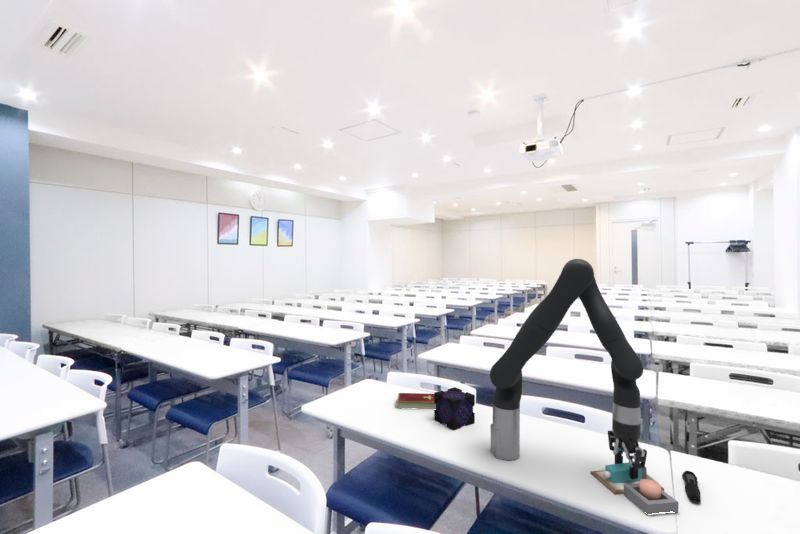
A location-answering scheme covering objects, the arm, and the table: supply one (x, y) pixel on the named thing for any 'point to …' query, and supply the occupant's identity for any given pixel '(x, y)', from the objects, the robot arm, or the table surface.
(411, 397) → the hardcover book
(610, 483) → the clipboard
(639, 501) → the collar
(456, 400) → the energy cube
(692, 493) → the electric trimmer
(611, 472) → the teal rectangular block
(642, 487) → the brown egg
